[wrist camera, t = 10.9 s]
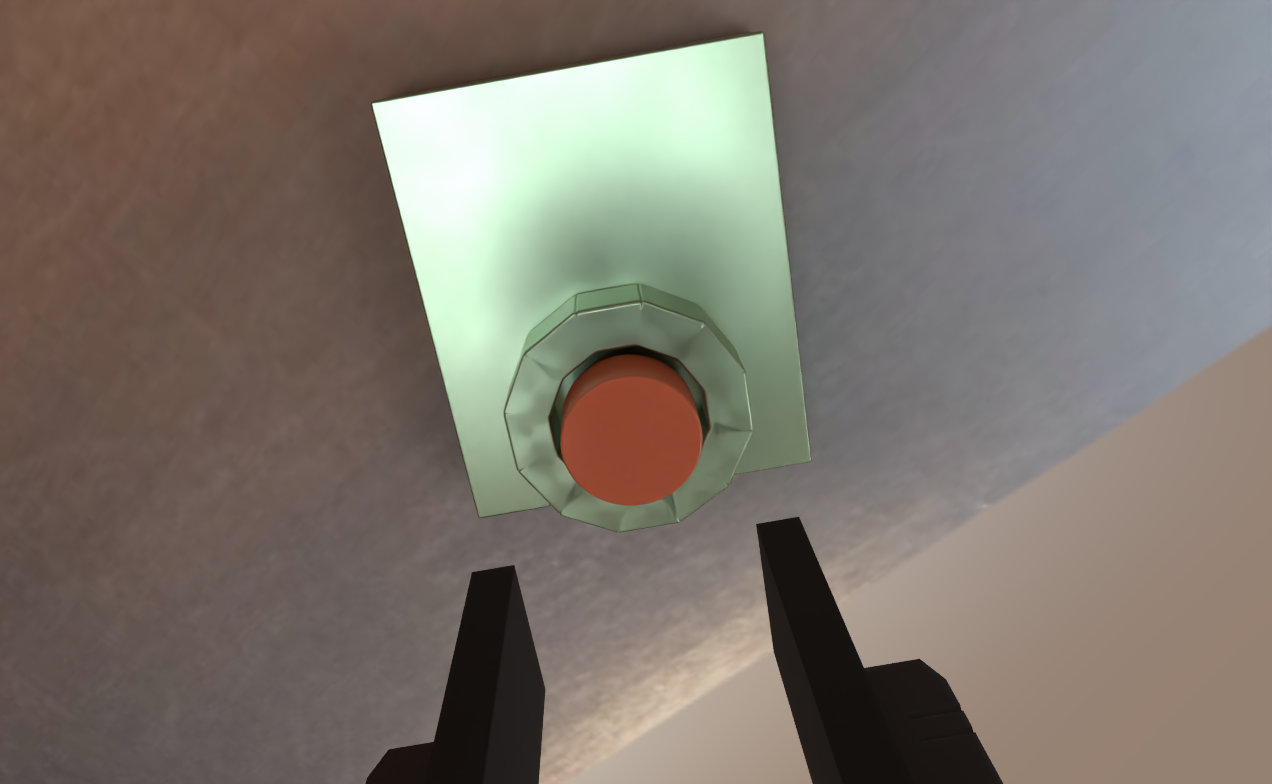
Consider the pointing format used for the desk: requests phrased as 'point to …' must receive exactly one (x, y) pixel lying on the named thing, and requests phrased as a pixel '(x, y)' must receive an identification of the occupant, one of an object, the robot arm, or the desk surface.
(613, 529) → the box
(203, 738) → the desk surface
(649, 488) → the bell button
